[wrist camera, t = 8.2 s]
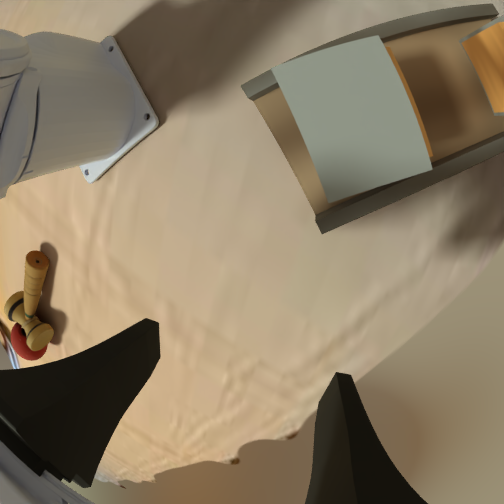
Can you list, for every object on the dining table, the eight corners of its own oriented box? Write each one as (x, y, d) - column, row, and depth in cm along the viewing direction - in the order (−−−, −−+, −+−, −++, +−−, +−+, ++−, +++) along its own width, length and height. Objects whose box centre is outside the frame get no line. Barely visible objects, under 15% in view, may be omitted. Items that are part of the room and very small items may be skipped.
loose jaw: (287, 94, 13) (270, 68, 8) (364, 69, 12) (390, 32, 6) (323, 179, 15) (328, 203, 9) (398, 155, 13) (444, 166, 8)
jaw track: (251, 92, 15) (204, 62, 8) (474, 13, 8) (527, -21, 2) (322, 221, 17) (324, 278, 10) (528, 128, 10) (596, 138, 4)
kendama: (32, 228, 26) (19, 324, 31) (-1, 248, 20) (-2, 348, 25) (78, 263, 27) (56, 352, 33) (48, 290, 21) (37, 380, 27)
